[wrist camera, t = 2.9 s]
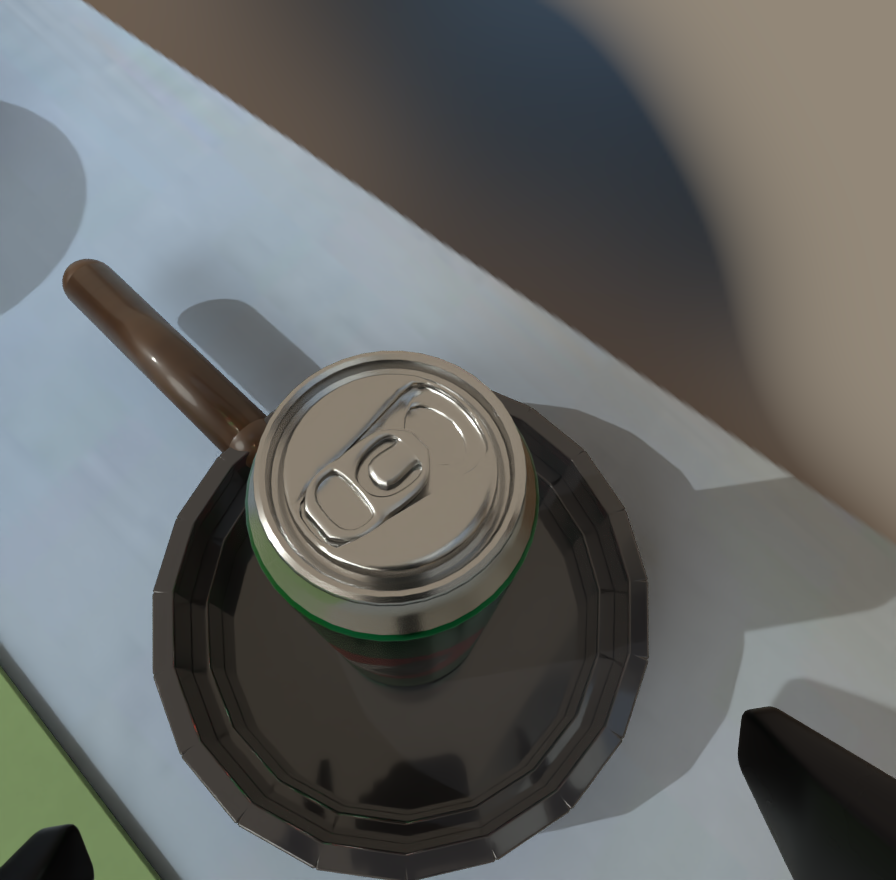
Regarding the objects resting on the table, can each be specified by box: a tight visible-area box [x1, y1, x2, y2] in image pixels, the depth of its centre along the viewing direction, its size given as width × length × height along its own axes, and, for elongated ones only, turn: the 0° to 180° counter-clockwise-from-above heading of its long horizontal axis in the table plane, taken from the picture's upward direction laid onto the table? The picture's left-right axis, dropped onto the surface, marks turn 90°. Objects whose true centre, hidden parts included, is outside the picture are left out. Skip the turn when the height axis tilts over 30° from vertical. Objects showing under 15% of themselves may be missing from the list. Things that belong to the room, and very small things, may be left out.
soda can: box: [245, 351, 539, 686], centre depth 16 cm, size 5×5×12 cm
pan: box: [153, 390, 649, 880], centre depth 20 cm, size 14×14×3 cm
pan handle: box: [62, 259, 267, 468], centre depth 22 cm, size 11×2×2 cm, turn 47°
